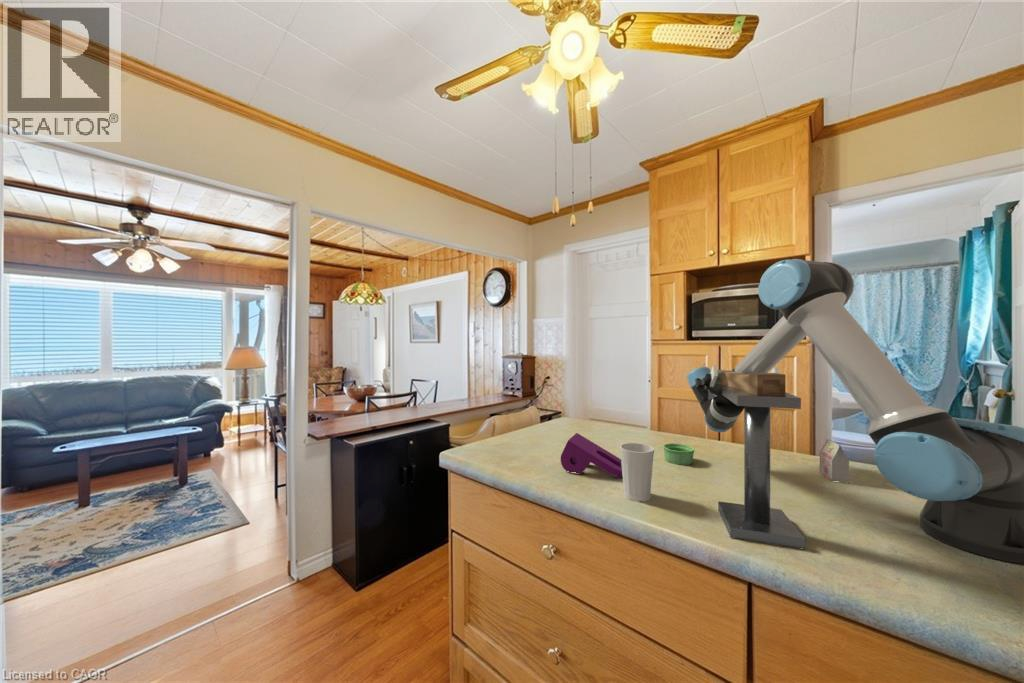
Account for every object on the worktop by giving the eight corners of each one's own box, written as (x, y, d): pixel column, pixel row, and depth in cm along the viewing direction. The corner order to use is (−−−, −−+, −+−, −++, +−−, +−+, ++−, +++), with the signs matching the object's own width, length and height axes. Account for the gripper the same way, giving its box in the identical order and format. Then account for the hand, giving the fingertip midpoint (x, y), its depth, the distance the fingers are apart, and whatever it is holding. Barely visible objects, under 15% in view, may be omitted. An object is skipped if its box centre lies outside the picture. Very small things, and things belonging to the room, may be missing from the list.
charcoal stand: (807, 552, 66) (807, 398, 65) (731, 540, 70) (731, 395, 69) (778, 515, 79) (778, 387, 79) (716, 507, 83) (716, 385, 83)
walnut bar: (785, 396, 69) (785, 374, 69) (757, 395, 69) (757, 374, 69) (728, 382, 90) (728, 365, 90) (707, 382, 91) (707, 365, 91)
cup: (619, 500, 87) (619, 450, 87) (621, 487, 95) (621, 441, 95) (654, 505, 84) (654, 454, 84) (653, 491, 92) (653, 444, 92)
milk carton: (835, 474, 103) (835, 439, 103) (848, 483, 97) (849, 446, 97) (819, 473, 104) (819, 438, 104) (831, 481, 98) (832, 444, 98)
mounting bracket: (617, 488, 108) (565, 455, 115) (630, 465, 107) (576, 432, 114) (612, 501, 100) (556, 464, 107) (626, 475, 98) (568, 440, 105)
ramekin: (692, 468, 109) (692, 453, 109) (660, 462, 114) (660, 448, 114) (696, 459, 116) (696, 445, 116) (666, 454, 121) (666, 441, 121)
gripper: (780, 421, 94) (813, 388, 76) (680, 415, 102) (688, 384, 84) (775, 394, 98) (805, 357, 80) (679, 390, 106) (686, 355, 88)
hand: (745, 371), depth 82 cm, fingers open, 11 cm apart
